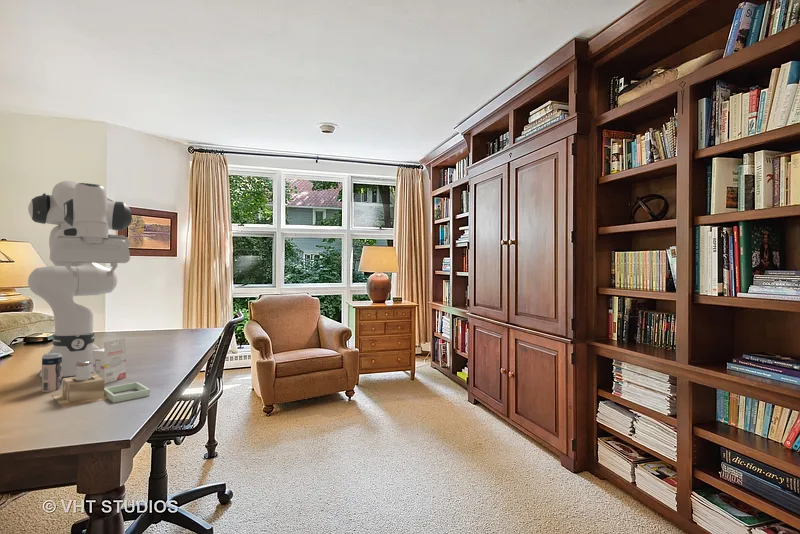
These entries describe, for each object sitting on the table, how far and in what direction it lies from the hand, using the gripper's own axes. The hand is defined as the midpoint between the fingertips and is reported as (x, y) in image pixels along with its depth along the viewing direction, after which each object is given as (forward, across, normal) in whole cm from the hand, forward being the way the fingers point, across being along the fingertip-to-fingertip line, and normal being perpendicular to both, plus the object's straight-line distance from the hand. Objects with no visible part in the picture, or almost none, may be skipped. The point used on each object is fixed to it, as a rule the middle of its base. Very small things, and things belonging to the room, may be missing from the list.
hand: (92, 277), depth 130 cm
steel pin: (+35, +4, +4) cm, 36 cm away
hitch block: (+36, +4, +4) cm, 37 cm away
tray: (+37, -5, +11) cm, 39 cm away
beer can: (+35, +9, -11) cm, 38 cm away
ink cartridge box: (+35, -6, -11) cm, 37 cm away
